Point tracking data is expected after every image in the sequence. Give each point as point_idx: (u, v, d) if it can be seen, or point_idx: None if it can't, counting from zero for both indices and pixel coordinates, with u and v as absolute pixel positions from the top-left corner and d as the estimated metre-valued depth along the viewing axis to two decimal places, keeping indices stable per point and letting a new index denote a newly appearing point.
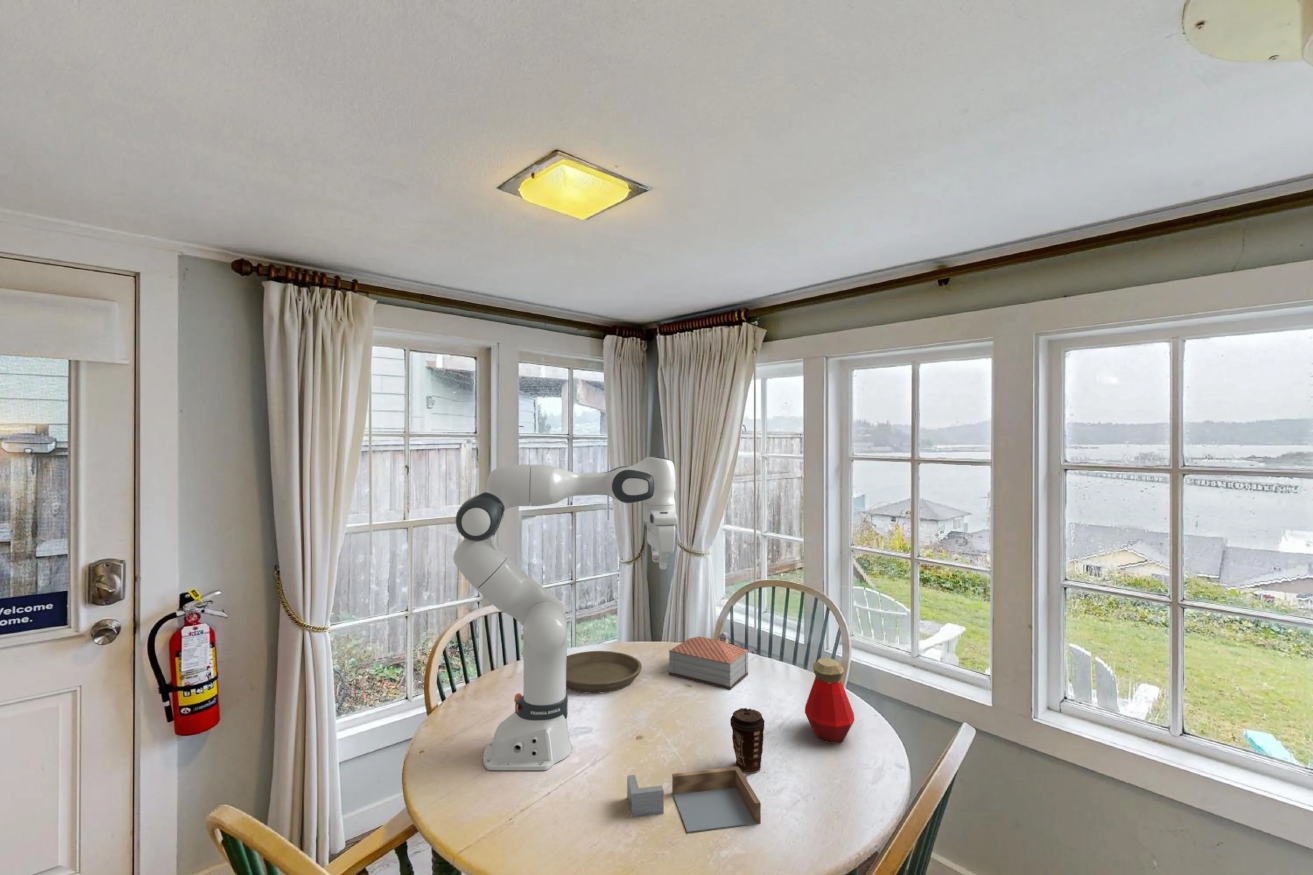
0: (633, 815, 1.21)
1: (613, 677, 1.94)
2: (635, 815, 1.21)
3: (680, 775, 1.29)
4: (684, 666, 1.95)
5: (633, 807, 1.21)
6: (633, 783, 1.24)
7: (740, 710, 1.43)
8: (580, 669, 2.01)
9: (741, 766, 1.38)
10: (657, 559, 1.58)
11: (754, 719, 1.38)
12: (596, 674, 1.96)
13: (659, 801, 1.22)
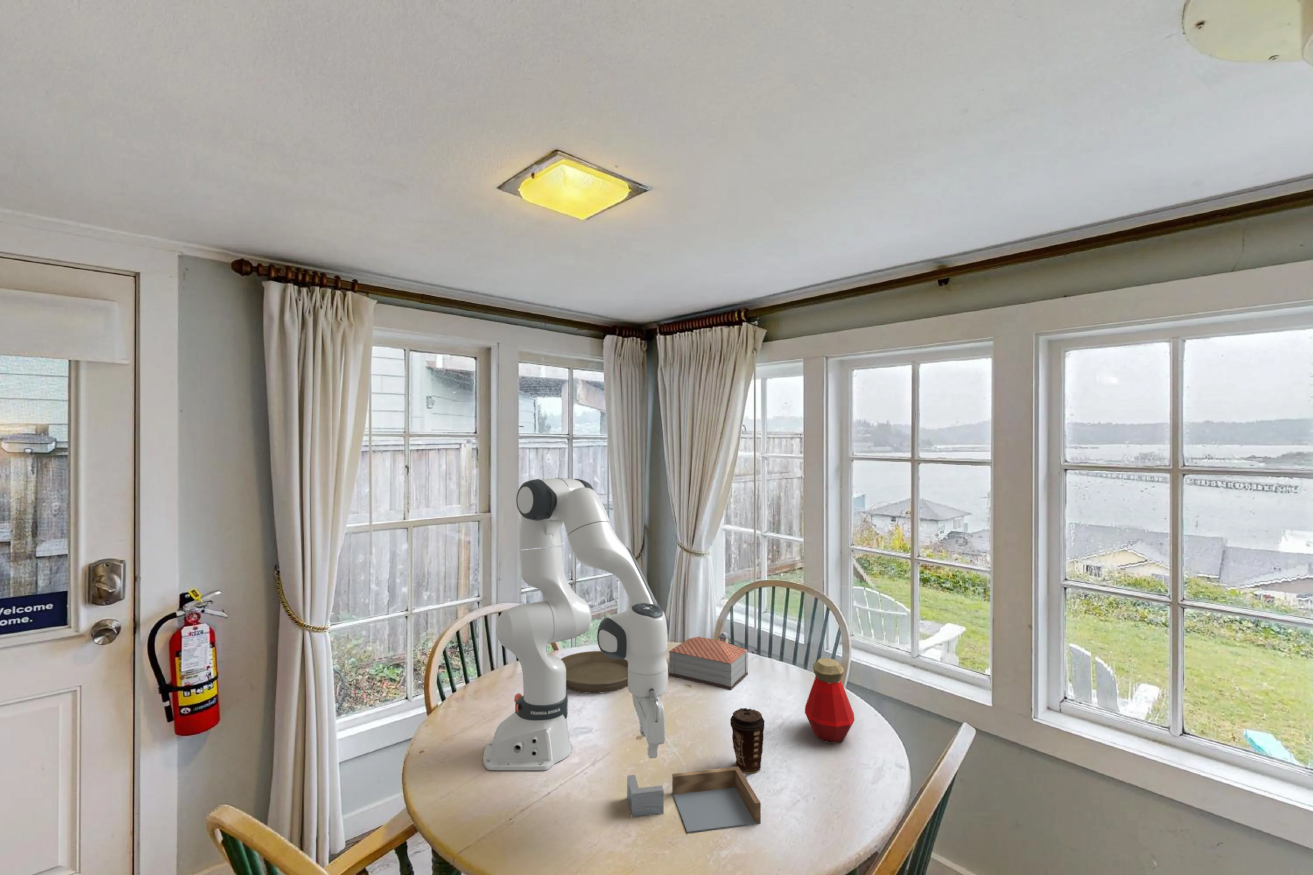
0: (633, 815, 1.21)
1: (613, 677, 1.94)
2: (635, 815, 1.21)
3: (680, 775, 1.29)
4: (684, 667, 1.95)
5: (633, 807, 1.21)
6: (633, 783, 1.24)
7: (740, 710, 1.43)
8: (580, 669, 2.01)
9: (741, 766, 1.38)
10: None
11: (754, 719, 1.38)
12: (596, 674, 1.96)
13: (659, 801, 1.22)
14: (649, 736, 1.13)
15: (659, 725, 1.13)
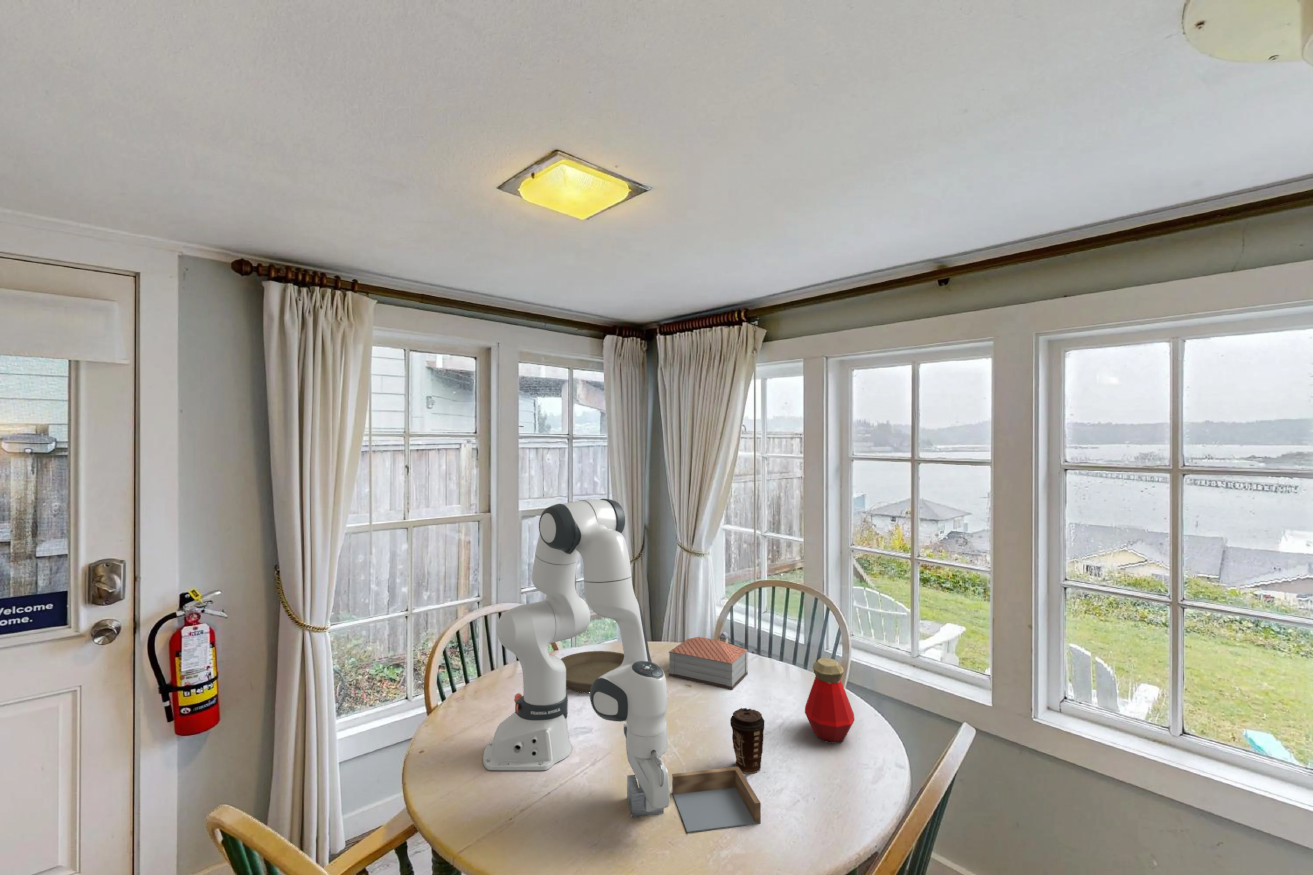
0: (633, 814, 1.21)
1: None
2: (635, 815, 1.21)
3: (680, 775, 1.29)
4: (684, 667, 1.95)
5: (633, 807, 1.21)
6: (633, 783, 1.24)
7: (740, 710, 1.43)
8: (580, 669, 2.01)
9: (741, 766, 1.38)
10: None
11: (754, 719, 1.38)
12: (596, 674, 1.96)
13: None
14: (654, 801, 1.12)
15: (664, 789, 1.13)
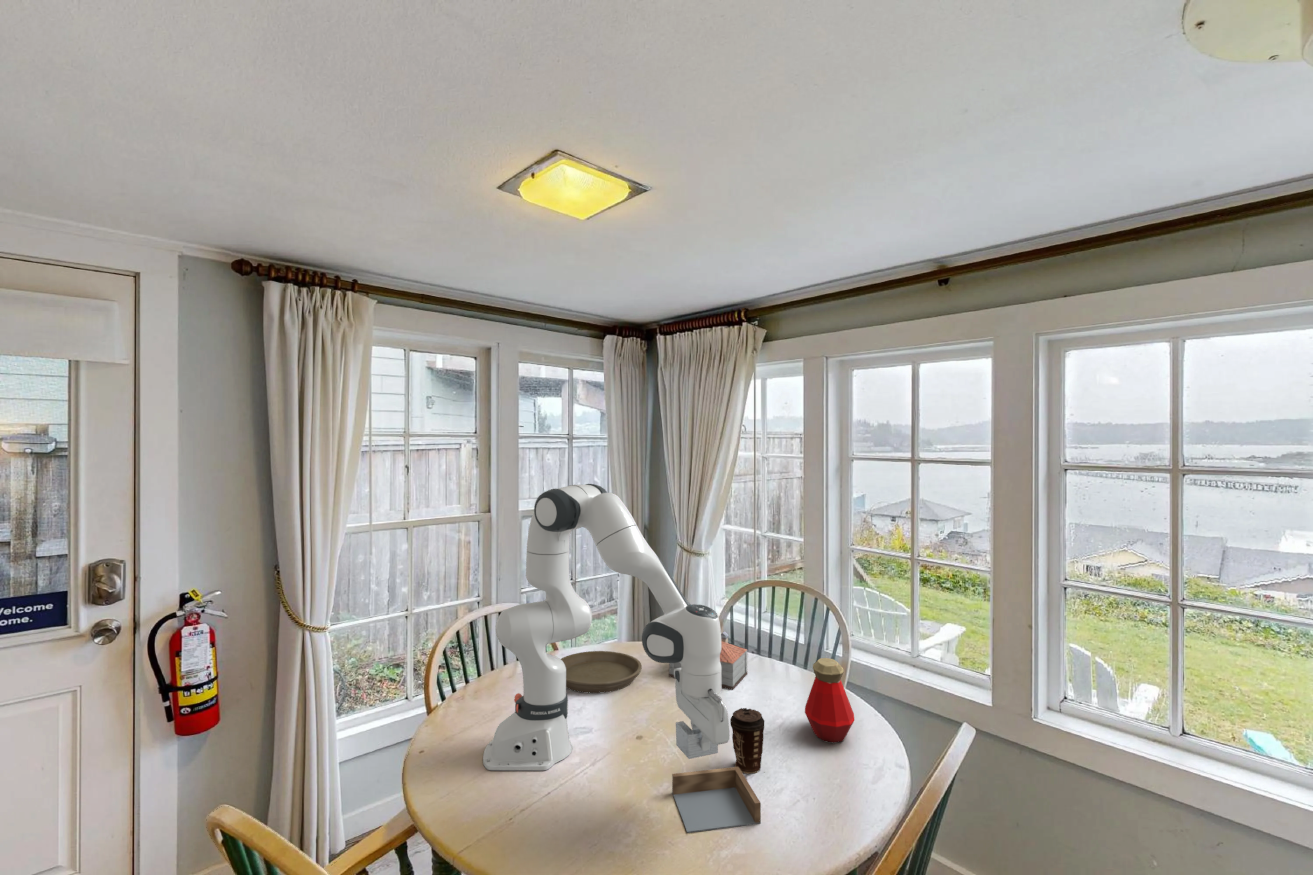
0: (690, 756, 1.21)
1: (613, 677, 1.94)
2: (692, 756, 1.21)
3: (680, 775, 1.29)
4: None
5: (690, 748, 1.21)
6: (685, 727, 1.25)
7: (740, 710, 1.43)
8: (580, 669, 2.01)
9: (741, 766, 1.38)
10: None
11: (754, 719, 1.38)
12: (596, 674, 1.96)
13: None
14: (715, 736, 1.14)
15: (724, 724, 1.14)
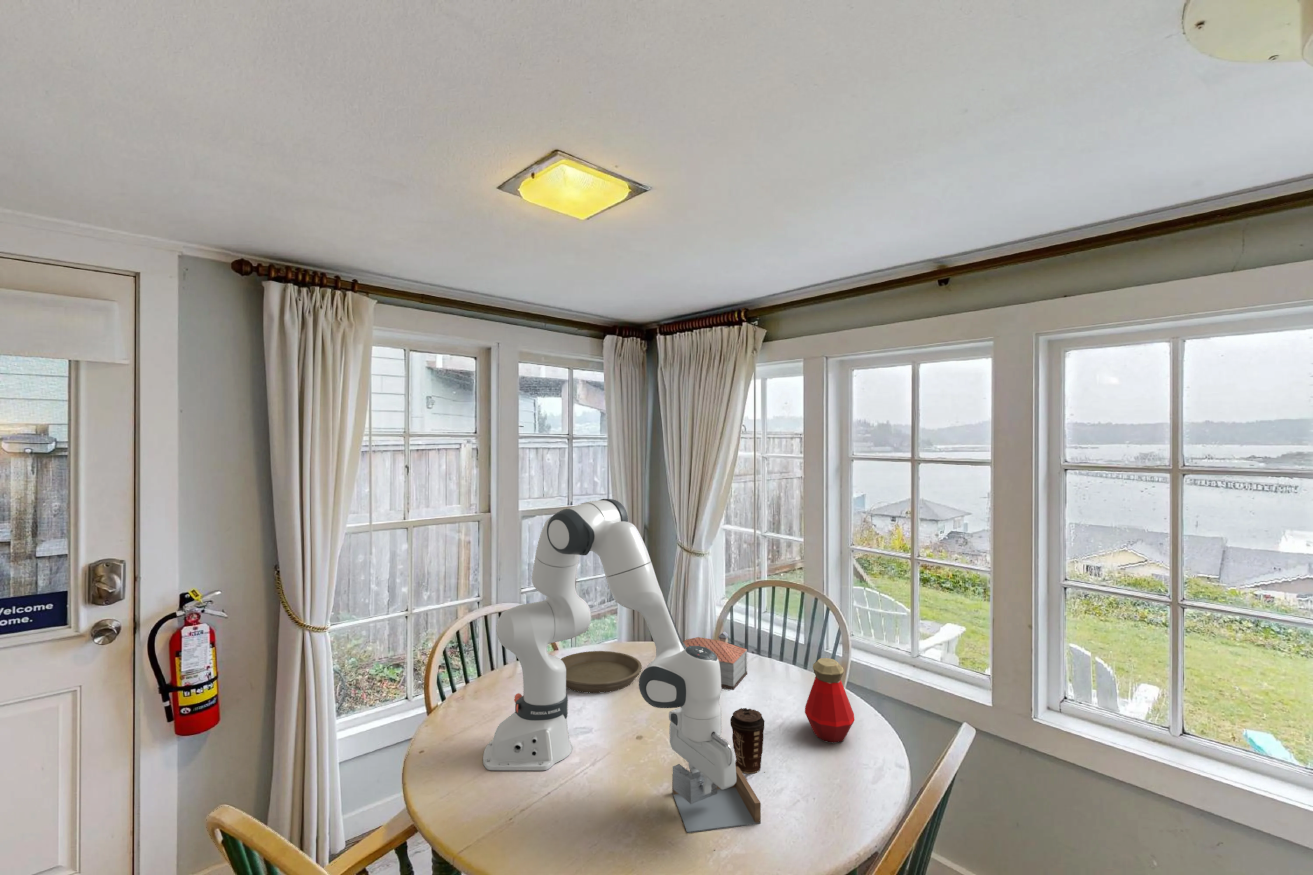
0: (692, 801, 1.20)
1: (613, 677, 1.94)
2: (694, 801, 1.20)
3: None
4: None
5: (692, 793, 1.20)
6: (684, 771, 1.24)
7: (740, 710, 1.43)
8: (580, 669, 2.01)
9: (741, 766, 1.38)
10: None
11: (754, 719, 1.38)
12: (596, 674, 1.96)
13: None
14: (724, 781, 1.14)
15: (731, 768, 1.15)
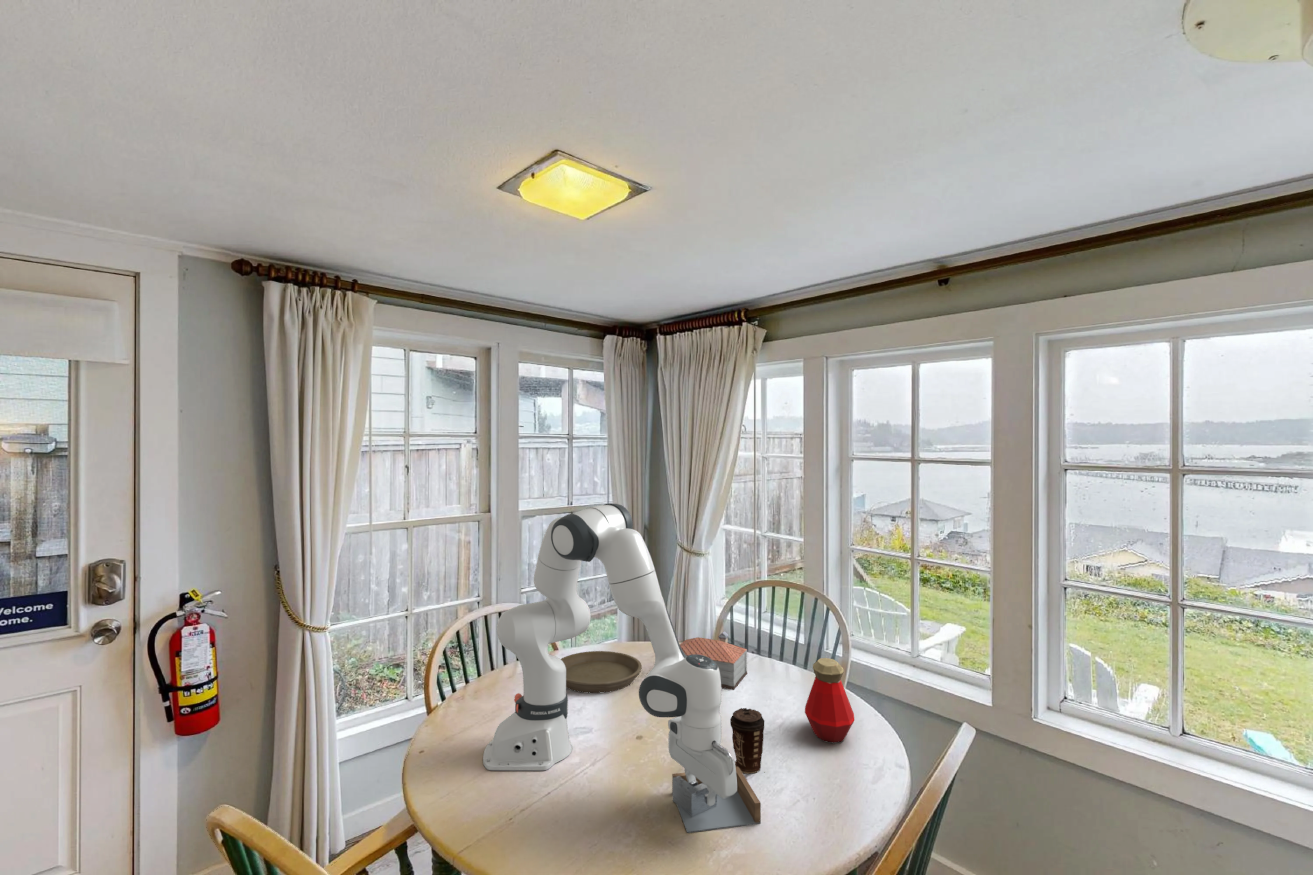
0: (693, 814, 1.20)
1: (613, 677, 1.94)
2: (694, 814, 1.21)
3: (680, 775, 1.29)
4: None
5: (693, 807, 1.20)
6: (685, 784, 1.24)
7: (740, 710, 1.43)
8: (580, 669, 2.01)
9: (741, 766, 1.38)
10: None
11: (754, 719, 1.38)
12: (596, 674, 1.96)
13: None
14: (725, 790, 1.14)
15: (732, 777, 1.15)
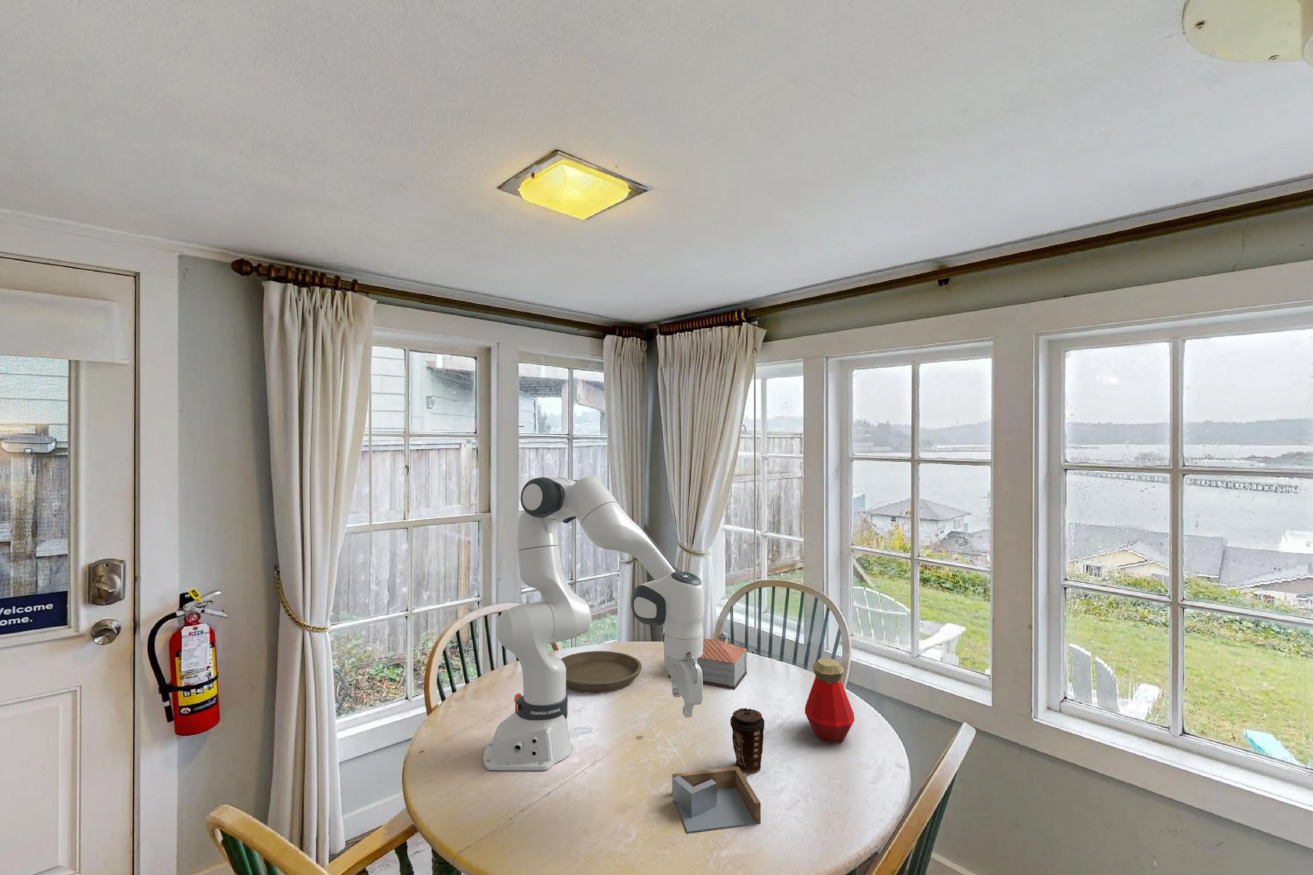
0: (693, 814, 1.20)
1: (613, 677, 1.94)
2: (694, 814, 1.21)
3: (680, 775, 1.29)
4: None
5: (693, 807, 1.20)
6: (685, 784, 1.24)
7: (740, 710, 1.43)
8: (580, 669, 2.01)
9: (741, 766, 1.38)
10: None
11: (755, 719, 1.38)
12: (596, 674, 1.96)
13: (713, 795, 1.24)
14: (688, 696, 1.18)
15: (697, 686, 1.18)
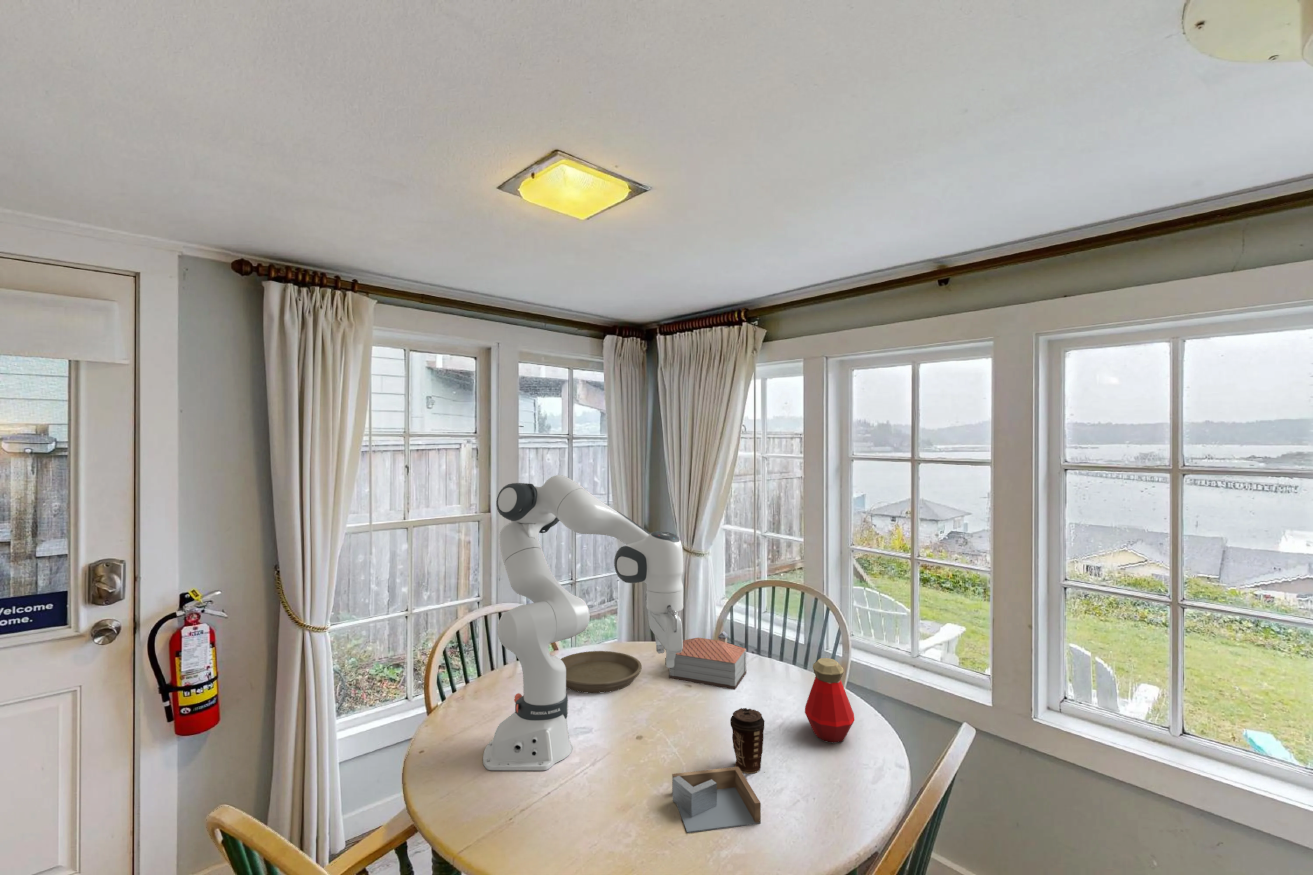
0: (693, 814, 1.20)
1: (613, 677, 1.94)
2: (694, 814, 1.21)
3: (680, 775, 1.29)
4: (685, 669, 1.93)
5: (693, 807, 1.20)
6: (685, 784, 1.24)
7: (740, 710, 1.43)
8: (580, 669, 2.01)
9: (741, 766, 1.38)
10: None
11: (754, 719, 1.38)
12: (596, 674, 1.96)
13: (713, 795, 1.24)
14: (668, 645, 1.24)
15: (677, 635, 1.25)
